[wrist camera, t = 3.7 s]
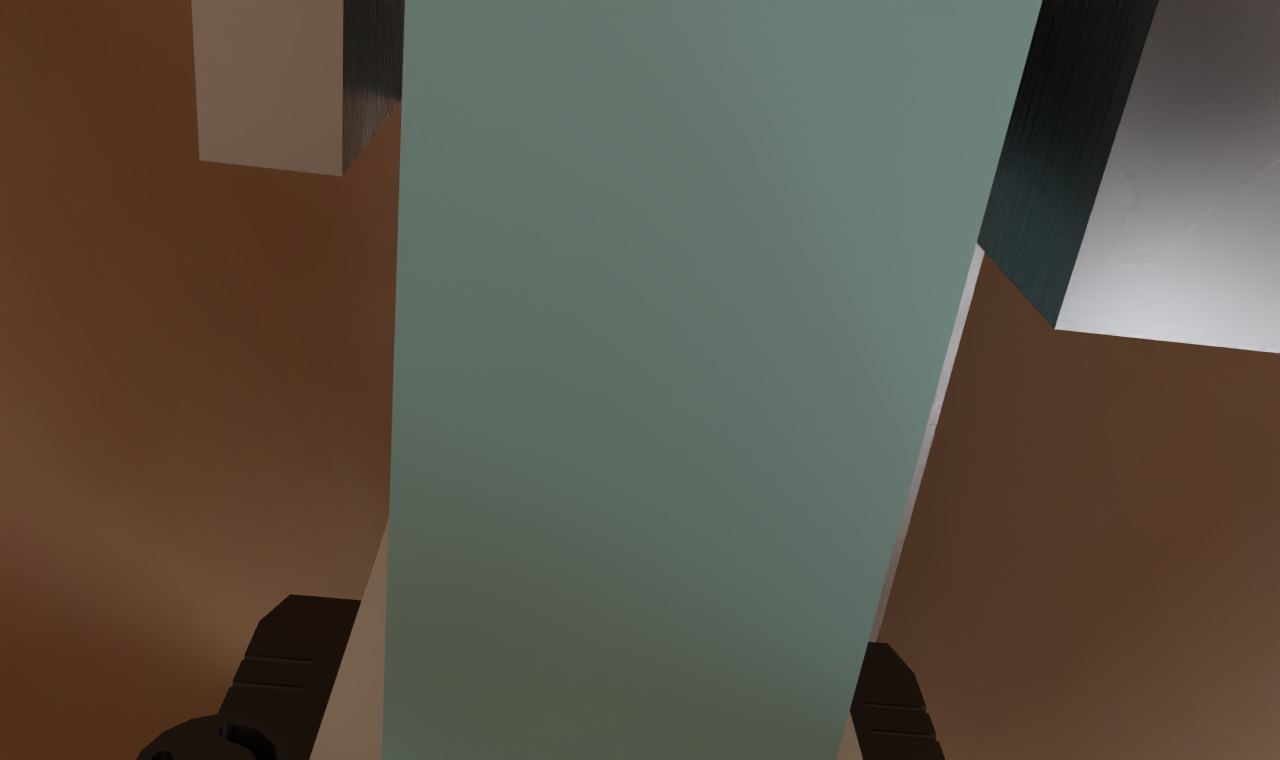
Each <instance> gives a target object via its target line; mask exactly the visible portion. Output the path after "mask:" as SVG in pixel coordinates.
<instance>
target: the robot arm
mask: <svg viewBox="0 0 1280 760" xmlns="http://www.w3.org/2000/svg"><path fill="white" fill-rule="evenodd" d="M388 534H389V519H388V522H387V525H386V528H385V531H384V534H383V537H382V540H381V543H380V546H379V549H378V552H377V555H376V559H375V562H374V565H373V568H372V571H371V574H370V577H369V580H368V583H367V586H366V589H365V592H364V595H363V598H362V600H350V599H339V598H327V597H316V596H304V595H292V594H290V595H289V596H288V597H287V598H286V599H284V600H283V601H282V602H281V603H280V604H279V605H277V606H276V607H275V608H274V609H273V610H272V611H271V612H269V613H268V614H267V615H266V616H265V617H264V618H262V619H261V620H260V621H259V623H258V626H257V628H256V630H255V632H254V635H253V637H252V639H251V641H250V643H249V646H248V648H247V650H246V652H245V658H244V660H242V661H241V663H240V666H239V668H238V670H237V672H236V675H235V677H234V679H233V684H232V687H230V688H229V690H228V692H227V695H226V697H225V699H224V701H223V703H222V706H221V708H220V710H219V712H218V715H212V716H206V717H200V718H195V719H191V720H189V721H187V722H184V723H182V724H180V725H178V726H176V727H173V728H171V729H169V730H167V731H164V732H163V733H162V734H161V735H159V736H158V737H157V738H156V739H155V740H154V741H152V742H151V743H150V744H149V745H148V746H147V747H145V748H144V749H143V750H142V751H141V752H140V754H139V756H138V758H137V760H382V729H383V697H384V664H385V632H386V599H387V567H388ZM836 760H945V757H944V755H943V752H942V749H941V746H940V744H939V741H936V732H935V730H934V727H933V724H932V721H931V719H930V716H929V713H926V705H925V702H924V699H923V696H922V693H921V691H920V688H919V685H918V682H917V680H916V677H915V674H914V673H913V672H912V670H911V669H910V668H909V667H908V666H907V665H906V664H905V663H904V661H903V660H902V659H901V658H900V657H899V656H898V655H897V654H896V652H895V651H894V650H893V649H892V648H891V647H890V646H889V645H888V643H878V642H868V644H867V648H866V652H865V655H864V659H863V663H862V666H861V670H860V674H859V678H858V681H857V685H856V689H855V692H854V696H853V700H852V703H851V707H850V711H849V714H848V718H847V722H846V725H845V729H844V733H843V736H842V740H841V744H840V748H839V751H838V755H837V759H836Z"/></svg>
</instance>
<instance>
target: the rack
mask: <svg viewBox="0 0 1280 760" xmlns="http://www.w3.org/2000/svg"><path fill="white" fill-rule="evenodd" d="M191 5H192V24H193V44H194V63H195V83H196V103H197V122H198V142H199V160H200V161H209V162H218V163H227V164H236V165H245V166H253V167H262V168H271V169H280V170H289V171H298V172H307V173H316V174H324V175H333V176H343V175H344V173H345V172H346V171H347V169H348V168H349V167H350V165H351V164H352V163H353V162H354V160H355V159H356V158H357V156H358V155H359V154H360V152H361V151H362V150H363V148H364V147H365V146H366V145H367V143H368V142H369V141H370V139H371V138H372V137H373V135H374V134H375V133H376V131H377V130H378V129H379V127H380V126H381V125H382V124H383V122H384V121H385V120H386V118H387V117H388V116H389V114H390V113H391V112H392V110H393V109H394V108H395V107H396V105H397V104H398V103H399V101H402V80H403V48H404V15H405V0H191ZM985 252H986V254H987V255H988V256H989V257H990V258H991V259H992V260H993V261H994V262H995V264H996V265H997V266H998V267H999V268H1000V269H1001V270H1002V271H1003V272H1004V274H1005V275H1006V276H1007V277H1008V278H1009V279H1010V280H1011V281H1012V282H1013V284H1014V285H1015V286H1016V287H1017V288H1018V289H1019V290H1020V291H1021V292H1022V294H1023V295H1024V296H1025V297H1026V298H1027V299H1028V300H1029V301H1030V302H1031V304H1032V305H1033V306H1034V307H1035V308H1036V309H1037V310H1038V311H1039V312H1040V314H1041V315H1042V316H1043V317H1044V318H1045V319H1046V320H1047V321H1048V322H1049V324H1050V325H1051V326H1052V327H1053V328H1054V329H1058V330H1068V331H1077V332H1086V333H1095V334H1105V335H1114V336H1123V337H1133V338H1142V339H1151V340H1161V341H1170V342H1179V343H1189V344H1198V345H1207V346H1217V347H1226V348H1235V349H1245V350H1254V351H1263V352H1272V353H1280V0H1042V4H1041V7H1040V11H1039V15H1038V18H1037V22H1036V26H1035V29H1034V33H1033V37H1032V40H1031V44H1030V48H1029V52H1028V55H1027V59H1026V63H1025V66H1024V70H1023V74H1022V77H1021V81H1020V85H1019V88H1018V92H1017V96H1016V99H1015V103H1014V107H1013V110H1012V114H1011V118H1010V121H1009V125H1008V129H1007V133H1006V136H1005V140H1004V144H1003V147H1002V151H1001V155H1000V158H999V162H998V166H997V169H996V173H995V177H994V180H993V184H992V188H991V191H990V195H989V199H988V203H987V206H986V210H985V214H984V217H983V221H982V225H981V228H980V232H979V236H978V239H977V243H976V247H975V250H974V254H973V258H972V261H971V265H970V269H969V272H968V276H967V280H966V284H965V287H964V291H963V295H962V298H961V302H960V306H959V309H958V313H957V317H956V320H955V324H954V328H953V331H952V335H951V339H950V342H949V346H948V350H947V353H946V357H945V361H944V365H943V368H942V372H941V376H940V379H939V383H938V387H937V390H936V394H935V398H934V401H933V405H932V409H931V412H930V416H929V420H928V423H927V427H926V431H925V434H924V438H923V442H922V446H921V449H920V453H919V457H918V460H917V464H916V468H915V471H914V475H913V479H912V482H911V486H910V490H909V493H908V497H907V501H906V504H905V508H904V512H903V516H902V519H901V523H900V527H899V530H898V534H897V538H896V541H895V545H894V549H893V552H892V556H891V560H890V563H889V567H888V571H887V574H886V578H885V582H884V585H883V589H882V593H881V597H880V600H879V604H878V608H877V611H876V615H875V619H874V622H873V626H872V630H871V633H870V637H869V641H868V642H877V638H878V635H879V631H880V627H881V624H882V620H883V617H884V613H885V609H886V606H887V602H888V599H889V595H890V591H891V588H892V584H893V581H894V577H895V573H896V570H897V566H898V563H899V559H900V555H901V552H902V548H903V545H904V541H905V537H906V534H907V530H908V527H909V523H910V519H911V516H912V512H913V508H914V505H915V501H916V498H917V494H918V490H919V487H920V483H921V480H922V476H923V472H924V469H925V465H926V462H927V458H928V454H929V451H930V447H931V444H932V440H933V436H934V433H935V429H936V426H937V422H938V418H939V415H940V411H941V408H942V404H943V400H944V397H945V393H946V390H947V386H948V382H949V379H950V375H951V372H952V368H953V364H954V361H955V357H956V354H957V350H958V346H959V343H960V339H961V336H962V332H963V328H964V325H965V321H966V318H967V314H968V310H969V307H970V303H971V300H972V296H973V292H974V289H975V285H976V282H977V278H978V274H979V271H980V267H981V264H982V260H983V256H984V253H985Z"/></svg>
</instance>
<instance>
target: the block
mask: <svg viewBox="0 0 1280 760" xmlns="http://www.w3.org/2000/svg"><path fill="white" fill-rule="evenodd" d="M1041 4H1042V0H405V15H404V48H403V80H402V113H401V145H400V178H399V210H398V242H397V275H396V307H395V340H394V372H393V405H392V437H391V470H390V502H389V534H388V567H387V599H386V632H385V664H384V697H383V729H382V760H836V759H837V755H838V751H839V748H840V744H841V740H842V736H843V733H844V729H845V725H846V722H847V718H848V714H849V711H850V707H851V703H852V700H853V696H854V692H855V689H856V685H857V681H858V678H859V674H860V670H861V666H862V663H863V659H864V655H865V652H866V648H867V644H868V641H869V637H870V633H871V630H872V626H873V622H874V619H875V615H876V611H877V608H878V604H879V600H880V597H881V593H882V589H883V585H884V582H885V578H886V574H887V571H888V567H889V563H890V560H891V556H892V552H893V549H894V545H895V541H896V538H897V534H898V530H899V527H900V523H901V519H902V516H903V512H904V508H905V504H906V501H907V497H908V493H909V490H910V486H911V482H912V479H913V475H914V471H915V468H916V464H917V460H918V457H919V453H920V449H921V446H922V442H923V438H924V434H925V431H926V427H927V423H928V420H929V416H930V412H931V409H932V405H933V401H934V398H935V394H936V390H937V387H938V383H939V379H940V376H941V372H942V368H943V365H944V361H945V357H946V353H947V350H948V346H949V342H950V339H951V335H952V331H953V328H954V324H955V320H956V317H957V313H958V309H959V306H960V302H961V298H962V295H963V291H964V287H965V284H966V280H967V276H968V272H969V269H970V265H971V261H972V258H973V254H974V250H975V247H976V243H977V239H978V236H979V232H980V228H981V225H982V221H983V217H984V214H985V210H986V206H987V203H988V199H989V195H990V191H991V188H992V184H993V180H994V177H995V173H996V169H997V166H998V162H999V158H1000V155H1001V151H1002V147H1003V144H1004V140H1005V136H1006V133H1007V129H1008V125H1009V121H1010V118H1011V114H1012V110H1013V107H1014V103H1015V99H1016V96H1017V92H1018V88H1019V85H1020V81H1021V77H1022V74H1023V70H1024V66H1025V63H1026V59H1027V55H1028V52H1029V48H1030V44H1031V40H1032V37H1033V33H1034V29H1035V26H1036V22H1037V18H1038V15H1039V11H1040V7H1041Z"/></svg>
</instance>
